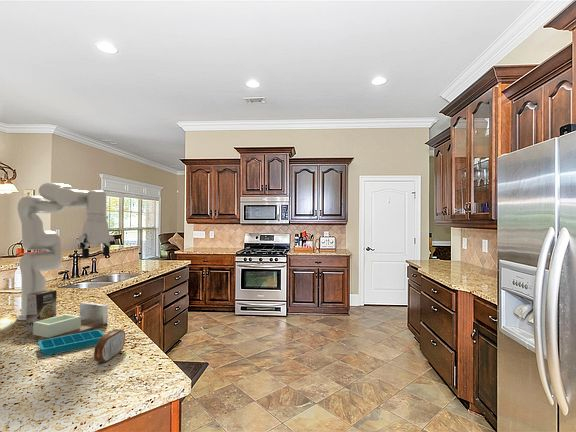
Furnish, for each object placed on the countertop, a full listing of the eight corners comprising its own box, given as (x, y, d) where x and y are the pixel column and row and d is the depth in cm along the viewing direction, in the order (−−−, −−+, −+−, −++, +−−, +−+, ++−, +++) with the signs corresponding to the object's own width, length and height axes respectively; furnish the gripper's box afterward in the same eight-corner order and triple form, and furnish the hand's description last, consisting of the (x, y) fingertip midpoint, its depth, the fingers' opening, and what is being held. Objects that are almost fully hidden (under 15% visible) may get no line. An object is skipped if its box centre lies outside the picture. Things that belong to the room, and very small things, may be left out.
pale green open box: (33, 334, 133) (33, 322, 133) (65, 325, 145) (65, 314, 145) (48, 337, 129) (48, 324, 129) (80, 328, 141) (81, 316, 141)
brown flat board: (26, 337, 134) (26, 334, 134) (83, 321, 156) (83, 318, 156) (51, 342, 127) (51, 339, 127) (107, 324, 149) (107, 322, 149)
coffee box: (37, 332, 139) (38, 294, 140) (25, 331, 141) (25, 293, 141) (56, 326, 148) (57, 290, 149) (45, 325, 150) (45, 289, 150)
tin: (118, 349, 120) (118, 325, 121) (126, 349, 120) (127, 325, 121) (92, 366, 105) (92, 340, 106) (102, 366, 105) (102, 340, 106)
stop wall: (79, 320, 154) (79, 302, 154) (83, 318, 156) (84, 301, 156) (103, 324, 148) (103, 306, 148) (107, 322, 149) (107, 305, 150)
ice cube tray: (37, 349, 122) (37, 341, 122) (99, 336, 135) (99, 329, 135) (40, 358, 113) (40, 349, 113) (106, 344, 126) (106, 336, 126)
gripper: (108, 218, 156) (107, 255, 155) (71, 218, 140) (71, 258, 140) (119, 218, 153) (119, 255, 152) (83, 217, 137) (82, 259, 137)
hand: (96, 256), depth 146 cm, fingers open, 9 cm apart
